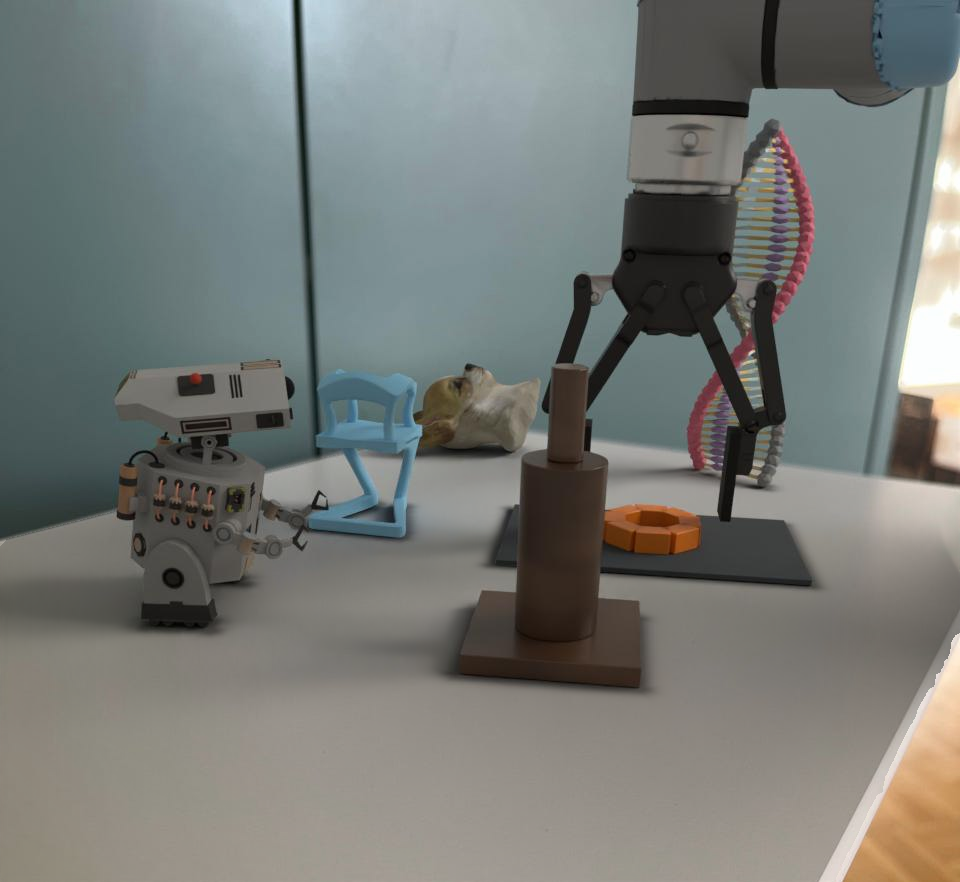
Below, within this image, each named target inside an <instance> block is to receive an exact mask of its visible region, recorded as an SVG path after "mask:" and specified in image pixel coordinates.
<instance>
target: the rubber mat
mask: <svg viewBox="0 0 960 882" xmlns="http://www.w3.org/2000/svg"><path fill="white" fill-rule="evenodd" d="M608 510H609V509H605V511H608ZM695 515H696V517H699V518H700V522H701V536H700V544H699V546H697V548H696V549H692V550H688V551H684V552H681V553H677V554H672V553H670V552H669V554H668V555H663V554H647V553H635V552H634V550H632V551H626V550H624V549H621V548H619V547H616V546H614V545H611V544H608V543H606V542H605V541H603V543H602V556H601V570H600V573H614V574H615V573H616V574H628V575H629V574H631V575H646V576H660V577H661V576H662V577H674V578H675V577H678V578H692V579H704V580H705V579H706V580H721V581H736V582H737V581H738V582H752V583H764V584H765V583H766V584H767V583H768V584H783V585H797V586H798V585H799V586H812V585H813V579H812V576H811V575H810V573H809V571H808V568H807V567H806V564H805V562H804V559H803V558H802V555H801V553H800V551H799V549H798V547H797V545H796V542H795V541H794V539H793V537H792V534H791V532H790V530H789V528H788V525H787V523H786V521H785V519H774V518H773V519H771V518H756V517H754V518H753V517H737V516H731V521H730V522H721V521H720V520H719V516H718V515H703V514H695ZM518 528H519V503H515V504H514V506H513V508H512V511H511V514H510V516H509V520H508V522H507V525H506V528H505V532H504V535H503V538H502V540H501V543H500V546H499V549H498V552H497V555H496V558H495V565H496V566H507V567H517V553H518Z"/></svg>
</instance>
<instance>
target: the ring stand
mask: <svg viewBox="0 0 960 882" xmlns="http://www.w3.org/2000/svg"><path fill="white" fill-rule="evenodd" d="M589 373H590V368H589V366H588V365H585V364H580V363H573V364H571V363H562V364H555V363H554V364H552V365H551V367H550V378H551V383H550V403H549V414H548V423H547V425H548V427H547V444H546V445H547V447H546V449H536V450H532V451H528V452H526V453H525V454H523V455H522V456H521V457H520V479H519V480H520V481H519V482H520V483H519V503H518V504H519V528H518V553H517V566H516V579H515V580H516V582H515V591H504V590H488V589H482V590H481V592H480V595H479V598H478V601H477V603H476V606H475V609H474V612H473V614H472V617H471V620H470V623H469V626H468V628H467V632H466V635H465V638H464V640H463V643H462V645H461V650H460V652H459V655H458V673H459V674H462V675H472V676H473V675H474V676H487V677H499V678H500V677H501V678H514V679H526V680H536V681H537V680H539V681H552V682H564V683H565V682H566V683H575V684H577V683H578V684H589V685H591V684H592V685H602V686H616V687H628V688H629V687H630V688H641V680H642V670H643V667H642V664H643V663H642V662H643V661H642V638H641V637H642V635H641V608H640V607H641V606H640V600H636V599H634V600H633V599H620V598H605V597H604V598H603V597H599V594H600V583H601V582H600V580H601V572H600V570H601V556H602V543H603V530H604V516H605V510H606V501H607V488H608V478H609V477H608V476H609V460H608V458H607V457H605V456H603V455H602V454H599V453H596V452H593V451H590V452H588V451H584V438H585V423H586V419H587V412H586V407H587V392H588V376H589Z"/></svg>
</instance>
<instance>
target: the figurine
mask: <svg viewBox="0 0 960 882" xmlns="http://www.w3.org/2000/svg"><path fill="white" fill-rule="evenodd" d="M295 393H296V387H295V383H294V381H293V380H292V379H291V378H290V377H288V376H287V375H285V368H284V363H283V361H282V359H271V358H267V359H262V360H255V361H254V360H253V361H241V362H240V361H239V362H228V363H214V364H201V365H187V366H185V365H184V366H174V367H161V368H160V367H159V368H146V369H135V370H130V372H129V373H128V374H127V375H126V376H125V377H124V378H123V379H122V380H121V382H120V383H119V385H118V387H117V390H116V393H115V396H114V405H115V410H116V411H115V412H116V414H117V419H118V422H129V421H140V420H143V421H144V422H146V423H149V424H151V425H152V426H154V427H156V428H158V429H160V430H162V431H164V435H162V436H157V440H156V441H157V442H156V446H154V447H153V448H152V449H150V450H148V449H144V450H143V449H142V450H138V451H135V452H134V453H133V454H131V456H130V458H129V460H128V462H124V463H121V464H120V472H119V476H118V484H119V487H118V489H119V490H118V503H117V504H118V505H117V506H118V507H117V509H116V515H115V516H116V518H117V519H118V520H120V521H126V522H127V521H128V522H129V521H132V532H131V544H130V545H131V547H130V559H131V560H132V561H133V562H135V563H136V564H137V565H138V566H140V567H141V568H142V569H143V578H142V589H143V602H142V603H141V607H140V608H141V610H140V621H141V620H142V621H148V622H149V624H151V625H152V626H157V625H159V624H160V622H161V621H162V623H163V624H164V625H165V626H167V627H169V626H172V625H173V624H174V622H182V623H183V624H184V625H185V626H186V627H189V628H190V627H193V626H194V625H195V624H196V623H197V624H198V626H199V627H201V628H205V627H207V626H208V625H209V624H210V623H213V622H214V621H215V619H216V618H217V616H218V611H217V607H216V603H215V599H214V598H212V595H211V589H210V585H211V584H212V585H213V584H220V583H228V582H232V583H234V584H236V583H239V582H240V580H241V579H244V578H245V576H246V575H247V574H248V572H249V570H250V568H251V567H252V565H253V564H254V563H253V562H254V560H255V558H256V557H255V555H265V556H266V557H267V558H268V559H269V560H277V559H279V558H280V557H281V555H282V554H283V552H284V549H286V548H290V547H293V546H295V547H296V548H297V550H299V551H300V552H303V551H304V550H305V548H306V547H307V545H308V543H309V539H307V540H306V541H305V542H304V544H303V545H301V544H300V542H299V540H300V537H301V535H302V533H303V531H305V532H307V533H308V534H310V531H309V530H308V528H307V525H308V520H307V517H309V516H310V515H311V514H313V513H314V511H321V510H329V507H330V506H329V501H328V498H327V497H328V496H326V495H325V494H324V493H323V492H322V491H321V490H320V489H318V490H317V491H316V494H315V496H314V498H313V499H312V502H311V504H310V503H309V504H307V505H306V506H305V507H303V509H301V510H300V509H297V508H292V509H291V508H288V507H287V506H285V505H282V503H281V502H279V501H278V500H276V499H274V498H271V499H267V498H265V497H264V494H263V492H264V484H265V483H264V482H265V474H266V466H265V465H263V464H261V463H260V462H258V461H257V460H255V459H253V458H251V457H250V456H247V455H244V454H242V453H241V452H240V451H238V450H235V449H233V448H230V447H229V446H230V438H232V434H238V433H250V432H261V431H273V430H285V429H286V430H287V429H291V428H292V424H291V420H294V415H293V413H294V412H293V408H292V407H290V406H289V405H290V404H289V400H291V399H292V398H293V397H294V396H295V395H294V394H295ZM168 434H170V435H172V436H174V437H176V438H177V442H174V441H173V438H171V437H170V436H168ZM182 438H187V440H188V441H182ZM173 442H174V443H173ZM142 454H144V455H142ZM139 455H142V456H141V457H140V458H138V459H136V460H137V461H136V464H134V463H133V460H134V459H135V458H136V457H137V456H139ZM320 496H322V497H323V498H325V499H326V500H325V506H323V505H320V504H317V503H318V500H319V497H320ZM261 511H262V515H263V516H264V517H265V518H266V519H267V520H269V521H275V520H276V519H277V520H278V521H279V522H282V523H286V524H288V526H289V527H290V528H291V529H292V530H295V531H297V532H296V534H295V535H293V536H292V537H289V538H285V539H280V538H278V537H277V535H275V534H269V535H267V536H265V537H264V538H262V537H259V536H258V532H259V531H258V530H259V522H260V515H261Z"/></svg>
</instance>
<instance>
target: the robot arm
mask: <svg viewBox="0 0 960 882" xmlns="http://www.w3.org/2000/svg"><path fill="white" fill-rule="evenodd" d="M636 7H637V26H636V45H635V46H636V47H635V63H634V64H635V65H634V80H633V82H634V83H633V97H632V98H633V99H632V107H631V108H632V109H631V117H630V123H629V136H628V137H629V139H628V153H627V167H626V180H627V181H628V182H629V184H634V188H632V192H631V193H628V194H627V197H625V198H624V206H623V217H622V218H623V219H622V233H621V244H620V245H621V246H620V258H619V261H618V264H617V266H616V268H615V269H614V270H613V272H610V273H609V272H607V273H589V272H588V271H584V270H583V271H579V272H578V273H577V274H576V275H575V277H574V279H573V285H572V286H573V310H572V313H571V316H570V317H569V318H570V319H569V322H568V325H567V328H566V331H565V334H564V335H563V336H564V337H563V339H562V342H561V345H560V348H559V351H558V354H557V356H556V357H557V358H556V361H555V363H554V365H555V364H562V363H571V364H575V363H574V362H575V360H576V357H577V353H578V351H579V348H580V345H581V342H582V339H583V336H584V333H585V331H586V328H587V324H588V321H589V318H590V315H591V311H592V307H596V306H597V307H598V305H600V304H601V303H602V301H603V300H604V296H605V294H606V293H607V292H608V291H610V290H613V292H614V293H615V295H616V296H617V298H618V300H619V301H620V303H621V305H622V307H623V309H624V310H625V312H626V315H625V316H624V318H623V320H622V321H621V323H620V324H619V326H618V327H617V329H616V331H615V333H614V334H613V336H612V337H611V339H610V341H609V342H608V344H607V345H606V347H605V348H604V350H603V351H602V353H601V354H600V355H599V358H598V359H597V361H596V362H595V364H594V365H593V366H592V368H591V370H589V376H588V392H587V407H586V413H588V411H589V410H590V408H591V407H592V405H593V403H594V402H595V400H596V398H597V397H598V396H599V394H600V392H601V391H602V390H603V388H604V387H605V385H606V383H607V382H608V380H609V379H610V378H611V376H612V374H613V373H614V371H615V369H616V368H617V367H618V365H619V363H620V362H621V361H622V359H623V357H624V356H625V355H626V353H627V352H628V350H629V349H630V347H631V346H632V345H633V343H634V342H635V341H636V339H637V337H638V336H639V334H640V333H641V332H642V333H643V334H646V336H657V337H658V336H663V335H666V334H671V335H675V336H678V337H681V338H693V336H695V335H698V334H699V336H700V338H701V340H702V342H703V344H704V346H705V348H706V351H707V353H708V355H709V357H710V360H711V362H712V364H713V366H714V369H715V371H717V373H718V375H719V378H720V380H721V382H722V384H723V385H722V388H724V389H725V391H726V393H727V394H726V395H727V396H728V398H729V400H730V402H729V403H730V404H731V405H732V407H733V408H732V410H733V412H735V413H736V416H735V417H736V418H737V421H739V424H737V425H726V428H727V432H726V434H725V436H726V440H725V441H724V443H725V448H724V449H723V450H724V456H723V457H722V458H723V463H722V465H723V466H722V471H721V474H720V483H719V492H718V500H717V508H716V513H717V516H719V520H720V521H721V522H730V521H731V517H732V513H733V505H734V497H735V488H736V483H737V481H736V480H737V476H744V475H746V476H745V477H747V476H749V474H751V473H752V470H753V469H752V467H753V466H754V457H755V452H756V451H755V448H756V444H757V443H756V439H757V436H758V435H759V434H758V432H759V431H762V430H763V429H764V428H765V429H766V428H768V427H771V425H780V424H782V423H783V422H784V421H785V420H786V419H787V411H786V404H785V398H784V397H785V396H784V390H783V385H782V378H781V377H782V376H781V370H780V364H779V363H780V362H779V358H778V357H779V355H778V351H777V344H776V337H775V336H776V335H775V331H774V324H773V323H772V312H773V307H774V302H775V297H776V294H777V293H778V289H777V286H776V285H777V284H776V283H775V281H771V280H770V279H768V278H766V277H764V278H758V279H754V278H746V277H745V278H744V277H738V276H736V275H735V273H734V272H735V270H734V266H733V265H732V263H733V257H734V256H733V254H734V248H733V247H734V245H735V236H736V231H737V230H736V227H737V221H738V220H737V217H738V207H739V203H740V201H736V197H737V196H736V195H735V196H729V195H730V191H731V185H735V186H737V185H738V184H739V183H740V182H741V175H742V166H743V157H744V152H745V148H746V147H745V146H746V137H747V128H748V118H749V116H750V102H751V96H752V93H753V90H754V89H765V90H778V89H789V90H790V89H797V90H800V89H801V90H805V89H806V90H833V92H834V93H835V94H836V96H837V97H838V98H840V99H842V100H844V101H845V102H846V103H848V104H851V105H854V106H859V107H866V108H880V107H883V106H888V105H890V104H893V103H894V102H896V101H898V100H900V99H901V98H903V97H905V96H907V95H908V94H910V93H911V92H912V91H914V90H915V89H921V88H922V89H923V88H937V87H938V88H939V87H941V86H945V85H946V84H947V83H949V82H951V80H952V79H953V78H954V76H955V75H956V73H957V71H958V67H959V62H960V0H637V2H636ZM733 294H736V295H737V296H739V298H741V302H740V305H741V307H743V308H744V309H745V310H746V311H749V312H750V313H749V314H750V315H749V318H750V320H751V323H750V326H751V328H752V334H753V340H754V347H755V353H756V359H757V368H758V371H757V373H758V377H759V379H760V381H759V386H761V389H760V390H761V391H760V392H761V395H762V398H761V399H762V404H764V406H762V407H752V405H751V404H752V403H751V399H749V398H748V396H749V395H748V394H747V391H745V389H744V387H745V386H744V385H743V383H742V382H741V380H740V379H741V377H740V375H739V376H738V373H737V371H738V370H737V371H736V369H735V366H734V364H733V362H732V360H731V357H730V352H729V351H728V349H727V346H726V344H725V341H724V338H723V337H722V335H721V333H720V330H719V327H718V326H717V322H716V321H715V319H714V318H715V317H716V316H717V315H718V313H720V311H721V310H722V309H723V308H724V306H726V305H725V304H726V303H727V301H728V300H729V299H730V298H731V297H732V295H733ZM550 383H551V377H550V378H549V380H548V384H547V387H546V390H545V392H544V396H543V398H542V402H541V406H540V407H541V410H542V411H543V413H544V414H547V415H549V403H550ZM593 421H594V420H593V418H586V423H585V438H584V451H588V452H592V451H591V449H592V448H591V447H592V437H593V436H592V435H593V434H592V433H593Z"/></svg>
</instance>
